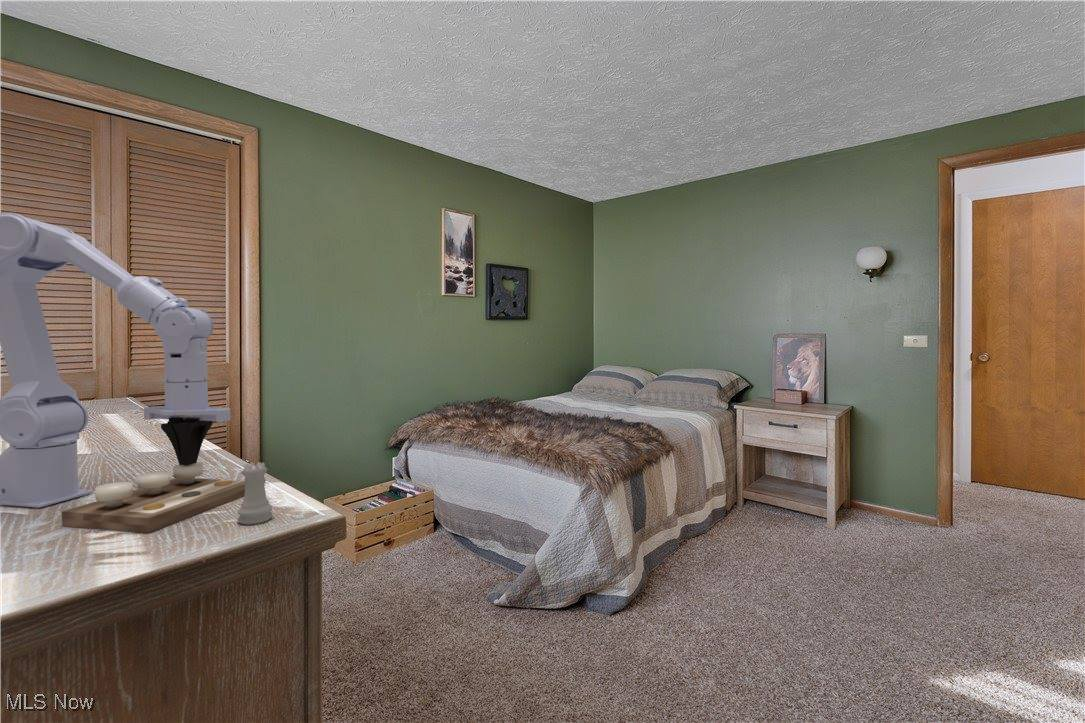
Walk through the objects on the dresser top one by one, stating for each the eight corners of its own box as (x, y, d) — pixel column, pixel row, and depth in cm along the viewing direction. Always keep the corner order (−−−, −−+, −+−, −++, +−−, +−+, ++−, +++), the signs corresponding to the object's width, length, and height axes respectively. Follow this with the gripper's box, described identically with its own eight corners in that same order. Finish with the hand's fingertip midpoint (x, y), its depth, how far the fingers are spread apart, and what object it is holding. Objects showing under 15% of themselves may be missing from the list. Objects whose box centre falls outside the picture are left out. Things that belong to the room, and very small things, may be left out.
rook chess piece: (257, 527, 69) (256, 469, 69) (229, 524, 70) (228, 467, 70) (280, 516, 73) (279, 461, 73) (253, 513, 74) (252, 460, 74)
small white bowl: (166, 485, 81) (166, 467, 81) (188, 478, 85) (188, 462, 85) (188, 486, 80) (188, 468, 80) (209, 479, 84) (208, 463, 84)
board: (62, 525, 69) (61, 507, 69) (178, 488, 87) (178, 474, 87) (149, 533, 66) (148, 514, 66) (250, 493, 84) (250, 478, 84)
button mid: (130, 496, 75) (130, 477, 75) (155, 488, 79) (154, 470, 79) (153, 497, 75) (152, 478, 74) (177, 489, 78) (176, 472, 78)
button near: (87, 509, 69) (87, 488, 69) (116, 500, 73) (116, 481, 73) (112, 510, 69) (111, 490, 68) (140, 501, 73) (139, 482, 72)
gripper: (124, 382, 79) (126, 467, 80) (204, 383, 77) (206, 472, 77) (165, 379, 86) (167, 457, 87) (239, 380, 84) (241, 461, 84)
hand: (188, 464), depth 83 cm, fingers closed
